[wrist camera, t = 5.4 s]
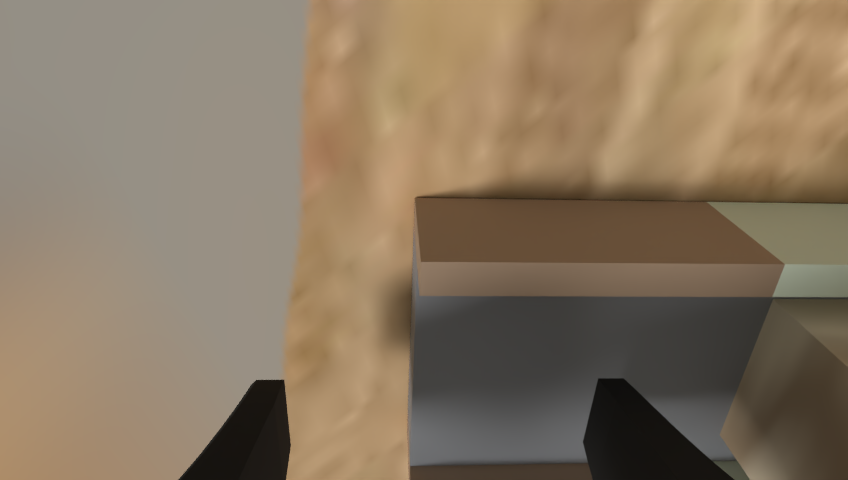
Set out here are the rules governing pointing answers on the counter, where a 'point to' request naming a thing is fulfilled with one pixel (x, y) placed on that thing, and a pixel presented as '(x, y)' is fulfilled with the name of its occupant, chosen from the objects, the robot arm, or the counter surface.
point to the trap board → (594, 320)
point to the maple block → (794, 395)
